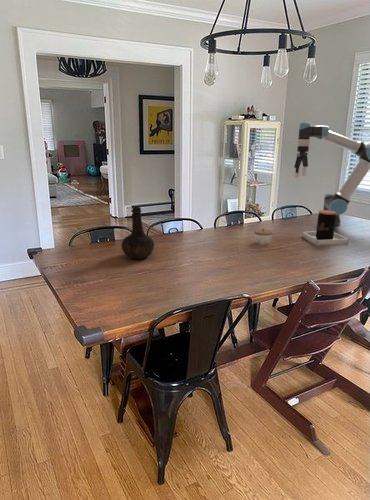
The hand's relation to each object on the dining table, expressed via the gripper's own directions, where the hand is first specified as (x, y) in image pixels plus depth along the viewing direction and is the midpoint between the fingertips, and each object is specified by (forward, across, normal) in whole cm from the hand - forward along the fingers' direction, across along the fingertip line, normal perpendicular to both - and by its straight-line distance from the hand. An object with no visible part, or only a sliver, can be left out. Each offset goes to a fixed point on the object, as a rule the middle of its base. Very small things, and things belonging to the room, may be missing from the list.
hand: (300, 176), depth 267 cm
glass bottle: (+37, +124, -43) cm, 136 cm away
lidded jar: (+37, +57, 0) cm, 68 cm away
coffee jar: (+36, +26, +29) cm, 53 cm away
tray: (+37, +26, +29) cm, 54 cm away
